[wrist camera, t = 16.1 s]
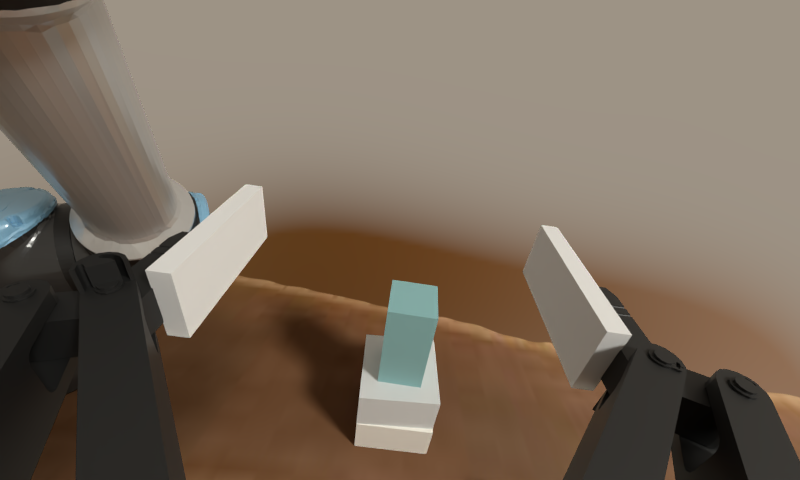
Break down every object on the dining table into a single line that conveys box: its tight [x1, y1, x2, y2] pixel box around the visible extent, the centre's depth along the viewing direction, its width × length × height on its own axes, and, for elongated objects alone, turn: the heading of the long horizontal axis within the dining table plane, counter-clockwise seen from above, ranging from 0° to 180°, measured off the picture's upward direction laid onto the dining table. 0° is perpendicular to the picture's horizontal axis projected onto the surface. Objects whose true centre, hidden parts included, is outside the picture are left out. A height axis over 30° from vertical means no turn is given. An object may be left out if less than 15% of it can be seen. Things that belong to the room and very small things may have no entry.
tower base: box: [354, 423, 433, 454], centre depth 44 cm, size 9×9×5 cm
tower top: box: [357, 335, 440, 429], centre depth 42 cm, size 9×9×5 cm
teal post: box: [378, 280, 438, 388], centre depth 38 cm, size 5×5×11 cm
